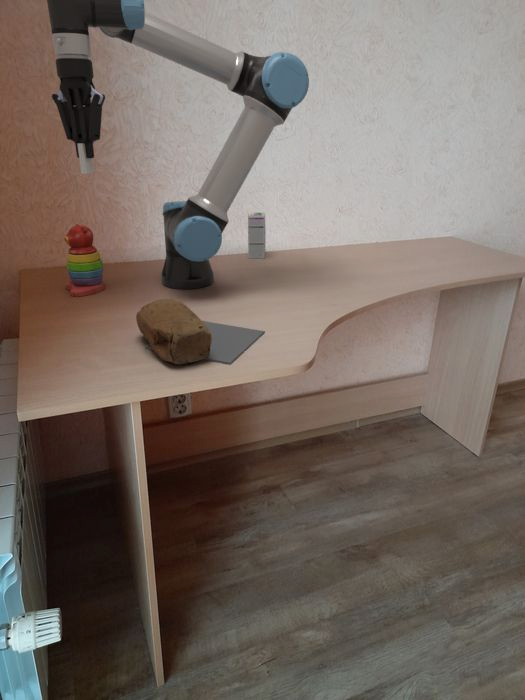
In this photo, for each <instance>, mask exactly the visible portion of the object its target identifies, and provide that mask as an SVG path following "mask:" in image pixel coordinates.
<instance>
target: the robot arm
mask: <svg viewBox="0 0 525 700" xmlns="http://www.w3.org/2000/svg"><path fill="white" fill-rule="evenodd" d="M46 1H47V2H46V3H47V9H48V17H49V22H50V29H51V35H52V36H51V38H52V44H53V51H54V56H56V57H57V58H56V60H55V67H56V74H57V77H58V78H59V81H60V83H59V91H57V93H53V94H51V97H52V98H51V99H52V100H53V102H54V103H55V105H56V108H57V111H58V113H59V118H60V120H61V124H62V127H63V131H64V133H65V136H66V139H67V140H68V141H72V142H73V143H74V145H75V152H76V157H77V158H78V159H79V168H80V173H81V174H82V175H87V174H94V173H95V169H94V161H93V159H94V158H95V151H94V143H95V142H96V141H100V139H101V128H102V116H103V115H102V114H103V105H104V102H105V100H106V95H105V94H104V93H99V92H98V91H97V90H96V87H95V84H94V83H93V79H94V77H95V76H94V68H93V67H94V66H93V61H92V60H91V59H89V58H91V57H92V49H91V40H90V33H89V28H95V29H96V28H99V30H100V31H101V32H102V33H103V34H104V35H106V36H107V37H110V38H115V39H119V40H122V41H124V42H126V43H129V44H131V45H134V46H136V47H138V48H140V49H141V48H142V49H143V50H146V51H148V52H151V53H152V54H155V55H157V56H159V57H162V58H165V59H167V60H169V61H171V62H174V63H175V64H178V65H181V66H182V67H184V68H187V69H190V70H192V71H193V72H194V71H195V72H197V73H199V74H202V75H204V76H205V77H208V78H210V79H213V80H215V81H217V82H220V83H222V84H224V85H226V88H227V89H228V91H230V92H232V93H234V94H237V95H239V96H241V97H242V99H243V104H244V108H243V110H242V112H241V113H240V116H239V117H238V119H237V121H236V122H235V125H234V126H233V128H232V130H231V132H230V133H229V136H228V137H227V139H226V141H225V142H224V144H223V146H222V149H221V151H220V152H219V153H218V155H217V157H216V159H215V161H214V163H213V165H212V167H211V169H210V170H209V173H208V174H207V176H206V178H205V180H204V181H203V184H202V185H201V187H200V188H199V191H198V193H197V194H196V195H193V196H190V197H189V196H188V198H187V200H182V201H179V200H178V201H168V202H164V204H163V207H162V215H163V228H164V241H165V244H164V245H165V259H164V263H163V268H162V272H161V275H160V276H161V284H162V285H164V286H165V287H166V288H170V289H171V288H172V289H176V290H177V289H178V290H193V289H200V288H205V287H208V286H210V285H212V284H213V283H214V281H215V279H214V278H215V277H214V271H213V269H212V266H211V263H210V259H211V258H213V257H215V255H216V254H217V253H218V252H219V251H220V249H221V246H222V242H223V240H222V239H223V233H224V231H225V229H226V227H227V225H228V223H229V217H228V211H229V210H230V208H231V205H232V204H233V202H234V200H235V198H236V196H237V195H238V193H239V192H240V189H241V188H242V186H243V184H244V183H245V181H246V179H247V178H248V175H249V173H250V172H251V170H252V168H253V166H254V165H255V163H256V161H257V160H258V157H259V155H260V153H261V152H262V150H263V148H264V147H265V145H266V143H267V142H268V139H270V136H271V134H272V133H273V130H274V129H275V127H277V126H281V125H284V123H285V122H286V120H287V118H288V116H289V115H290V113H291V111H292V109H294V108H296V107H297V106H298V105H299V104H301V103H302V102H303V101H304V99H305V98H306V96H307V93H308V91H309V86H310V77H309V73H308V69H307V67H306V65H305V64H304V62H303V60H301V58H299V57H298V56H297V55H295V54H293V53H289V52H284V51H278V52H275V53H273V54H271V55H267V56H256V55H253V54H249V53H247V52H245V51H242V50H241V51H239V52H234V51H231V50H230V49H228V48H225V47H223V46H221V45H219V44H216V43H214V42H212V41H210V40H207V39H206V38H203V37H201V36H199V35H197V34H194V33H192V32H190V31H188V30H185V29H184V28H181V27H179V26H176V25H175V24H172V23H170V22H169V21H166V20H165V19H161V18H159V17H157V16H154V15H152V14H150V13H148V12H146V11H145V0H46Z"/></svg>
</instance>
